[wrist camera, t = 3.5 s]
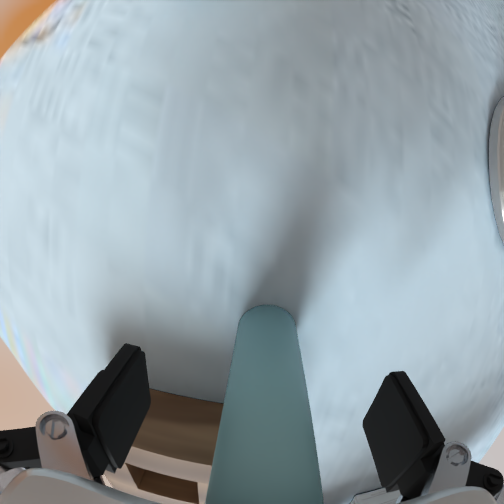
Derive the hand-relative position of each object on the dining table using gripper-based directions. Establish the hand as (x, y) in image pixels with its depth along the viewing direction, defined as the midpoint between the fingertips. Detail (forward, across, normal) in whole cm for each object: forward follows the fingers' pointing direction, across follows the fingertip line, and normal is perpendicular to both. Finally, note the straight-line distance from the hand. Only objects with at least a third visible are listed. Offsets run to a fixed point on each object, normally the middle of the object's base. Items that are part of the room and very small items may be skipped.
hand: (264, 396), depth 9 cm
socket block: (+5, +5, +11) cm, 13 cm away
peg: (+5, 0, 0) cm, 5 cm away
